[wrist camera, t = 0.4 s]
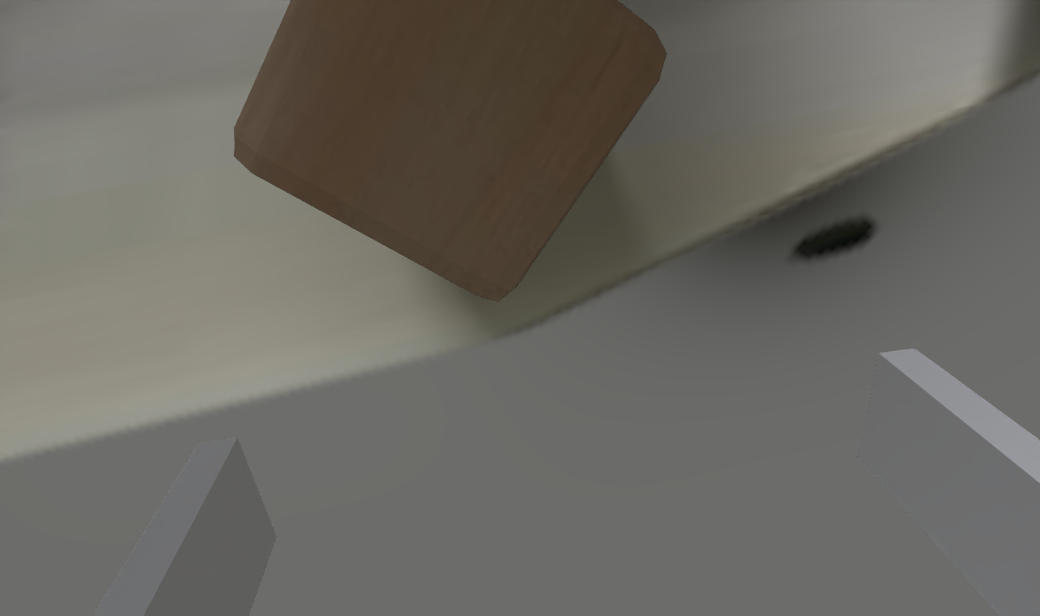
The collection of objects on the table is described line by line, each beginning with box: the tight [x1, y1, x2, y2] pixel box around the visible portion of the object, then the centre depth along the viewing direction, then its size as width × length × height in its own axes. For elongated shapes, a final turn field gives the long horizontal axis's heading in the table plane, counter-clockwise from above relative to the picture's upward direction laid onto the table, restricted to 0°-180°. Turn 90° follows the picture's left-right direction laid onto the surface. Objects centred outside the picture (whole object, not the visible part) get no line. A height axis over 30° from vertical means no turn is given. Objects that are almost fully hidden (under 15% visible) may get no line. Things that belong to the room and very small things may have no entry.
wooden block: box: [234, 0, 667, 301], centre depth 26 cm, size 10×10×20 cm
